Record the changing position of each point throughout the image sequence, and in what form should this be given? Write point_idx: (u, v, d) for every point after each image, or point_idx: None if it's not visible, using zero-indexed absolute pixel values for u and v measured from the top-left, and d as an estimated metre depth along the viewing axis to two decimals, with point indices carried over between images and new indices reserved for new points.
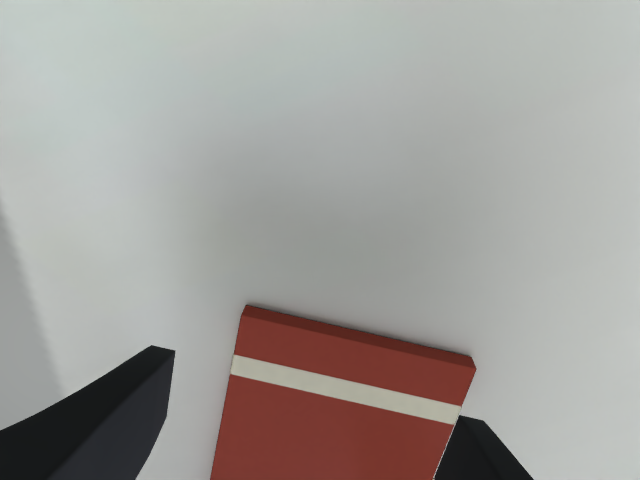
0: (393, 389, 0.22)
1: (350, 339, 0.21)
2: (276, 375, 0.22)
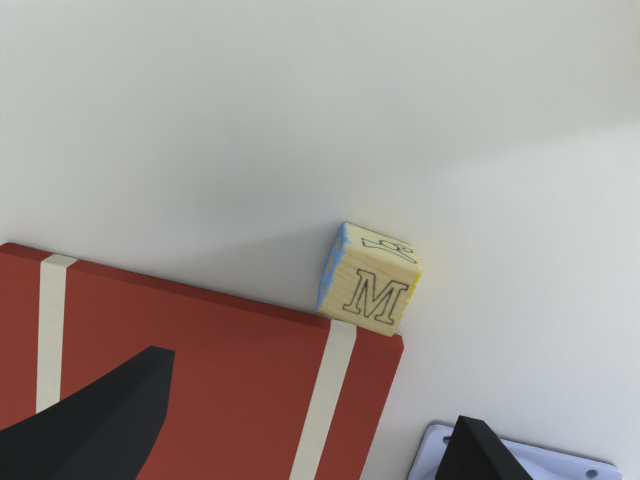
0: (36, 328, 0.21)
1: None
2: None
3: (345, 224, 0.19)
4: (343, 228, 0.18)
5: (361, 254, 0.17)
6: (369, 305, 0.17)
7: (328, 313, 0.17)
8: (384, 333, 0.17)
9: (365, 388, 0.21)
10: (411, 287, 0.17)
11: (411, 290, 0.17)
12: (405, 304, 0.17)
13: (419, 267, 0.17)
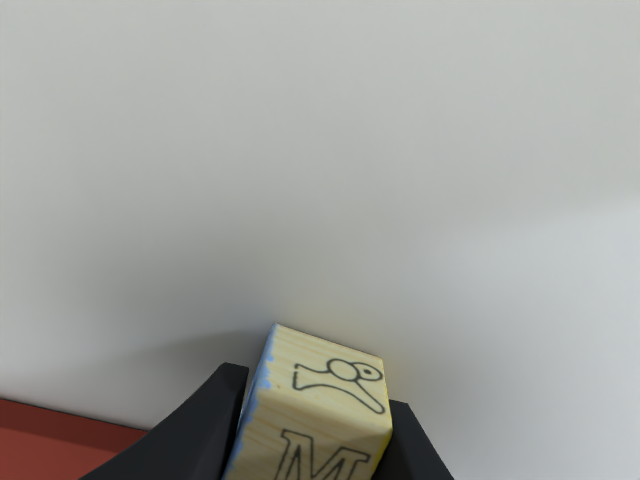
0: None
1: None
2: None
3: (275, 331, 0.12)
4: (268, 343, 0.11)
5: (287, 405, 0.10)
6: None
7: None
8: None
9: None
10: (375, 458, 0.10)
11: (375, 461, 0.10)
12: None
13: (388, 424, 0.10)
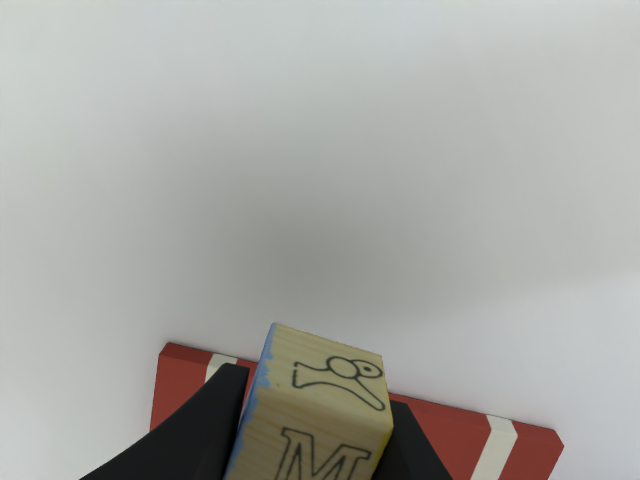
0: None
1: None
2: None
3: (274, 330, 0.12)
4: (267, 341, 0.11)
5: (287, 404, 0.10)
6: None
7: None
8: None
9: None
10: (376, 454, 0.10)
11: (376, 458, 0.10)
12: None
13: (388, 421, 0.10)
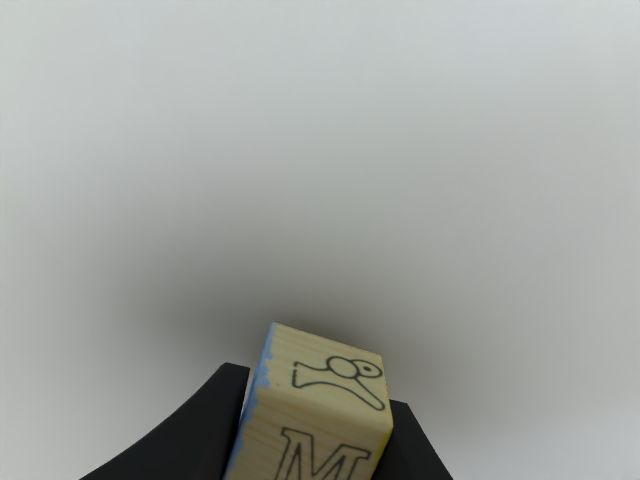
0: None
1: None
2: None
3: (273, 330, 0.12)
4: (267, 341, 0.11)
5: (287, 403, 0.10)
6: None
7: None
8: None
9: None
10: (376, 454, 0.10)
11: (376, 458, 0.10)
12: None
13: (388, 421, 0.10)
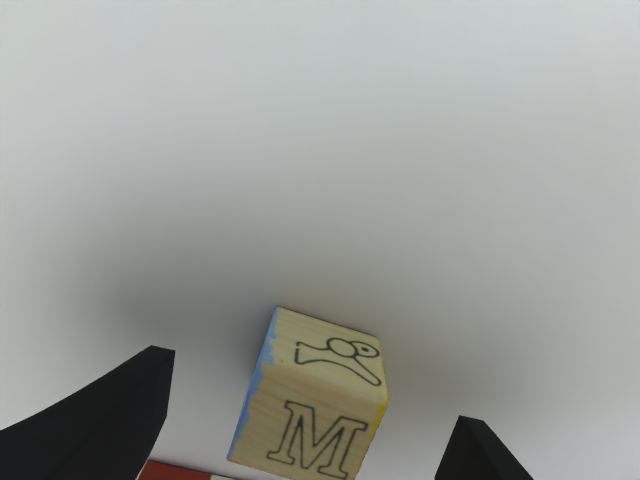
0: None
1: None
2: None
3: (277, 313, 0.12)
4: (271, 323, 0.12)
5: (290, 378, 0.10)
6: (307, 451, 0.11)
7: (245, 463, 0.11)
8: None
9: None
10: (372, 426, 0.11)
11: (372, 430, 0.11)
12: (364, 450, 0.11)
13: (384, 395, 0.11)
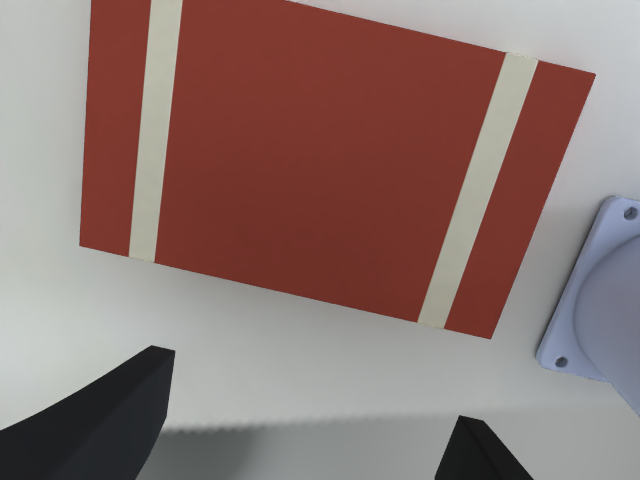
0: (142, 69, 0.17)
1: (85, 126, 0.18)
2: (147, 212, 0.19)
3: None
4: None
5: None
6: None
7: None
8: None
9: (541, 135, 0.17)
10: None
11: None
12: None
13: None
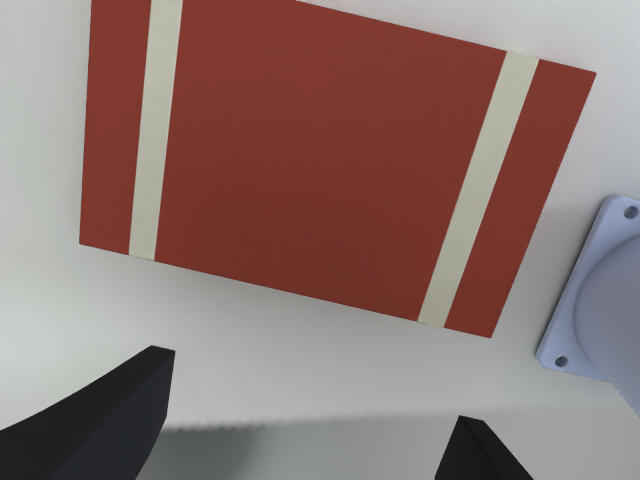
0: (143, 66, 0.17)
1: (85, 124, 0.18)
2: (146, 210, 0.19)
3: None
4: None
5: None
6: None
7: None
8: None
9: (542, 134, 0.17)
10: None
11: None
12: None
13: None
